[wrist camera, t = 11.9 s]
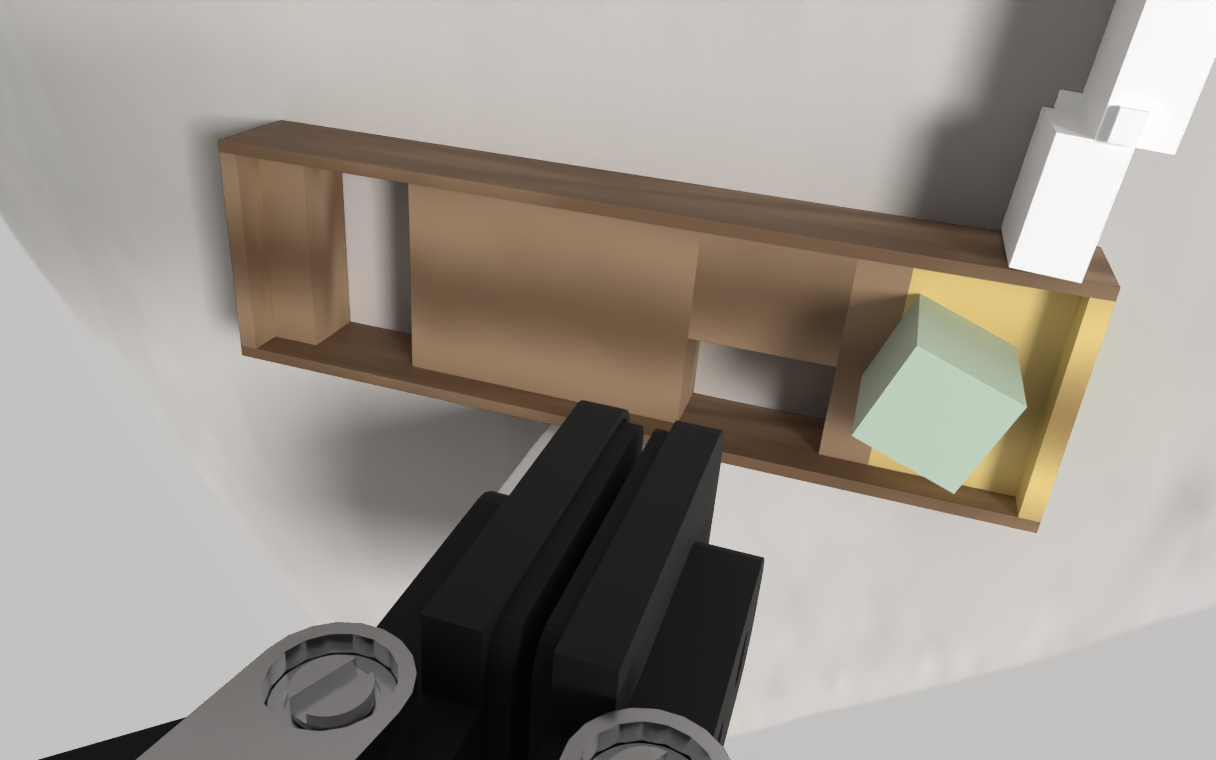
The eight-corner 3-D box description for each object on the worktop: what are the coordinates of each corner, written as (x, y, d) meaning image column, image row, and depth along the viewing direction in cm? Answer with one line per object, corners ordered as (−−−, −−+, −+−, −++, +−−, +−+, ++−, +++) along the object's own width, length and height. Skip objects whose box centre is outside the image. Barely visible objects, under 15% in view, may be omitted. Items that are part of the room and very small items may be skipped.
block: (919, 293, 35) (916, 345, 31) (1016, 346, 35) (1027, 407, 31) (861, 375, 37) (851, 435, 33) (952, 426, 37) (954, 493, 33)
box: (281, 120, 44) (217, 140, 40) (1100, 247, 36) (1120, 287, 32) (297, 320, 48) (242, 355, 44) (1027, 473, 40) (1036, 533, 36)
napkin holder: (1201, -220, 30) (1252, -247, 25) (1402, 67, 31) (1490, 96, 26) (815, 105, 37) (796, 134, 32) (993, 324, 38) (1000, 384, 34)
